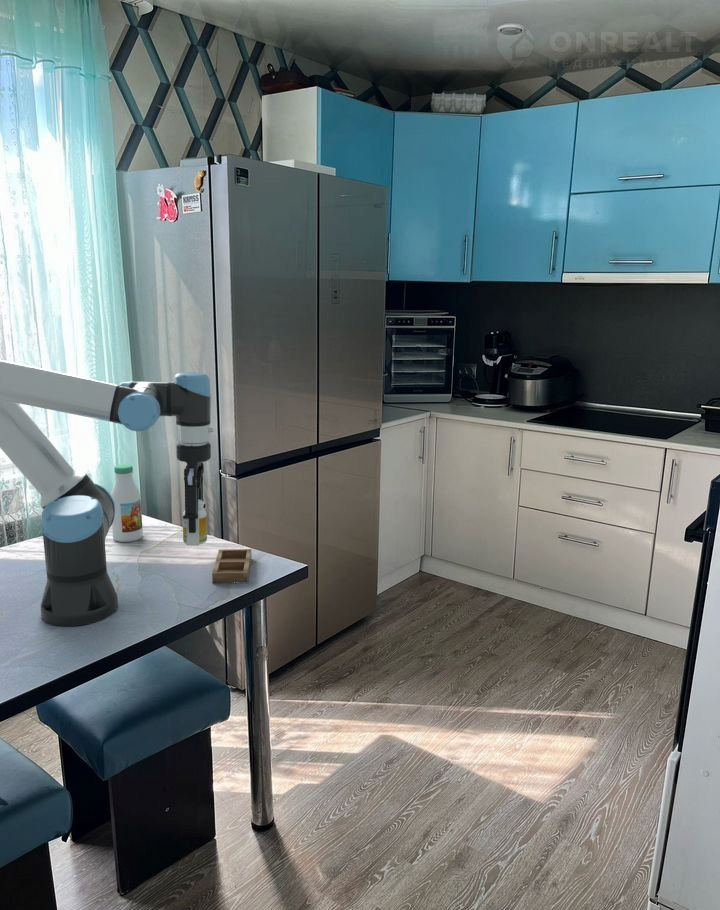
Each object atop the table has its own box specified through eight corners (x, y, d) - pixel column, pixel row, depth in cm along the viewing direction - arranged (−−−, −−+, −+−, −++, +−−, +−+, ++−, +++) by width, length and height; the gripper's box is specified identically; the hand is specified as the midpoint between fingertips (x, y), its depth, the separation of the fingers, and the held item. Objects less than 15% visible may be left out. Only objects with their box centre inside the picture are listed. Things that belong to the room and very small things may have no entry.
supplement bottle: (208, 537, 170) (208, 498, 167) (204, 546, 164) (204, 505, 162) (185, 537, 169) (185, 497, 167) (180, 545, 164) (180, 504, 162)
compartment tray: (247, 582, 167) (247, 572, 166) (212, 583, 166) (212, 573, 165) (251, 558, 181) (251, 549, 181) (219, 559, 181) (218, 549, 180)
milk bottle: (111, 543, 190) (106, 470, 185) (114, 533, 197) (109, 462, 193) (141, 541, 191) (137, 469, 187) (144, 532, 199) (139, 461, 194)
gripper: (205, 452, 153) (206, 555, 158) (215, 434, 171) (215, 527, 176) (169, 451, 152) (171, 554, 158) (182, 433, 170) (184, 526, 175)
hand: (194, 540), depth 167 cm, fingers closed on supplement bottle, 5 cm apart
